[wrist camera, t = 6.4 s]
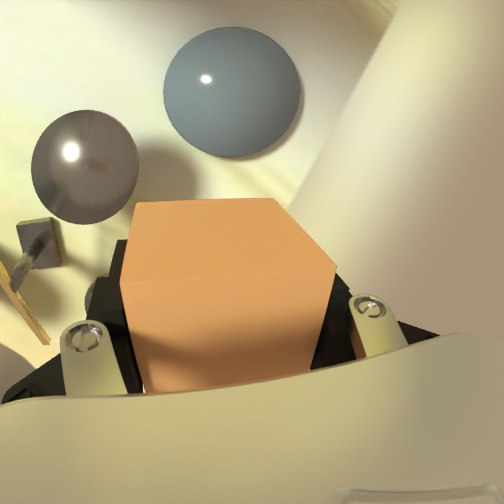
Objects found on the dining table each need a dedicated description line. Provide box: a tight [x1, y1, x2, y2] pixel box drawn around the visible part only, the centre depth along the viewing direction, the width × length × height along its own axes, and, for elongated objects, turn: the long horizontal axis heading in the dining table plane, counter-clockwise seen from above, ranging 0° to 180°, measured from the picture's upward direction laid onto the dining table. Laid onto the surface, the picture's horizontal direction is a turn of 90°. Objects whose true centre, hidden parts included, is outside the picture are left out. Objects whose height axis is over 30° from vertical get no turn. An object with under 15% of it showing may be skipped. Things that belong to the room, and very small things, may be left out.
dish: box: [163, 27, 300, 157], centre depth 25 cm, size 12×12×1 cm
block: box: [120, 198, 337, 393], centre depth 10 cm, size 5×5×5 cm
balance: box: [0, 110, 139, 345], centre depth 23 cm, size 24×14×11 cm, turn 178°
